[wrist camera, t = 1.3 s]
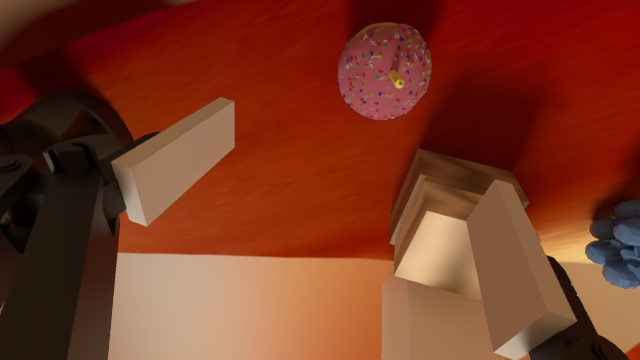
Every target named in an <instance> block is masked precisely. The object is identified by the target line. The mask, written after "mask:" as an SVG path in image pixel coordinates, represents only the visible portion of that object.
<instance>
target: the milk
mask: <svg viewBox="0 0 640 360" xmlns="http://www.w3.org/2000/svg"><path fill="white" fill-rule="evenodd" d="M382 360H505V359H504V356H502V355H499V354H496V353H494V352H493V348H492V343H491V339H490V334H489V329H488V324H487V319H486V315H485V310H484V305H483V302H482V301H478V300H475V299H472V298H468V297H465V296H462V295H458V294H455V293H451V292H448V291H445V290H441V289H438V288H435V287H431V286H428V285H424V284H421V283H418V282H414V281H411V280H407V279H404V278H401V277H397V276H394V264H393V267H392V268H391V270H390V272H389V274H388V276H387V278H386V279H385V281H384V283H383V285H382Z"/></svg>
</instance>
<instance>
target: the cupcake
mask: <svg viewBox="0 0 640 360" xmlns="http://www.w3.org/2000/svg"><path fill="white" fill-rule="evenodd" d="M337 70H338V86H339V88H340V91H341V94H342V96H343V98H344V99H345V101H346V102H347V103H348V106H351V107H352V108H353V109H354V110H355V111H356V112H358V113H359V114H361V115H363V116H366V117H369V118H372V119H375V120H384V119H385V120H387V119H389V118H391V119H394V117H396V116H399V115H402V114H404V113H405V114H407V112H408V111H410V110H411V109H412V108H413V107H414V106H415V104H416V103H417V102H418V100H419V99H420V98H421V97H422V96H423V94H424V93H425V92H426V91H427V88H428V85H429V82H430V77H431V70H432V64H431V57H430V52H429V49H428V46H427V45H426V43H425V41H424V40H423V38H422V37H421V35H420V34H419V32H418V31H417V30H416V29H414V28H413V27H411V26H409V25H407V24H397V23H392V22H384V23H377V24H372V25H369V26H367V27H365V28H364V29H362V30H361V31H360V32H359V33H357V34H356V35H355V36H354V37H353V38H352V39H351V40H350V41H349V42H348V43H347V44H346V46H345V47H344V50H343V52H342V54H341V56H340V60H339V63H338V68H337Z"/></svg>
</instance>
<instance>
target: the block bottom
mask: <svg viewBox="0 0 640 360" xmlns="http://www.w3.org/2000/svg"><path fill="white" fill-rule="evenodd" d="M495 179H497V180H500V181H503V182H507V183H510V184H512V185H513V187H514V189H515V191H516V193H517V195H518V198H519V200H520V202H521V204H522V206H523V208H524V209H525V207H526V206H527V205H528V204H529V200H528V199H527V197H526V195H525V193H524V192H523V190H522V188H521V187H520V185H519V183H518V181H517V180H516V178H515V176H514V174H513V173H512V172H511V171H507V170H503V169H499V168H495V167H491V166H487V165H483V164H479V163H475V162H471V161H467V160H463V159H459V158H455V157H451V156H447V155H443V154H439V153H435V152H431V151H427V150H423V149H419V148H418V150H417V152H416V155H415V157H414V159H413V162H412V164H411V167H410V169H409V171H408V174H407V176H406V179H405V181H404V183H403V186H402V188H401V191H400V193H399V195H398V198H397V200H396V203H395V205H394V207H393V210H392V212H391V220H390V239H389V244H393V245H395V241H396V239H397V237H398V235H399V233H400V231H401V229H402V226H403V224H404V222H405V220H406V218H407V216H408V214H409V211H410V209H411V207H412V205H413V203H414V201H415V199H416V196H417V194H418V192H419V190H420V188H421V186H422V184H423V181H424V180H425V181H429V182H432V183H436V184H440V185H444V186H448V187H452V188H456V189H459V190H463V191H467V192H471V193H475V194H479V195H483V196H484V194H485V193H486V191H487V190H488V188H489V187H490V186H491V184H492V183H493V181H494V180H495Z"/></svg>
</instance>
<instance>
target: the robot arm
mask: <svg viewBox="0 0 640 360" xmlns="http://www.w3.org/2000/svg"><path fill="white" fill-rule="evenodd" d="M233 148H234V101H232V100H228V99H225V98H221V97H220V98H218V99H217V100H215V101H213V102H212V103H210V104H208V105H207V106H205V107H203V108H202V109H200V110H198V111H196V112H195V113H193V114H191V115H190V116H188V117H186V118H185V119H183V120H181V121H179V122H178V123H176V124H174V125H173V126H171V127H169V128H168V129H166V130H164V131H163V132H154V133H151V134H147V135H144V136H142V137H141V138H139V139H137V140H135V142H133V141H132V138H131V136H130V134H129V133H128V131H127V129H126V128H125V126H124V125H123V124H122V122H121V121H120V120H119V119H118V117H117V116H116V115H115V114H114V113H113V112H112V111H111V110H110V109H109V108H108V107H106V106H105V105H104V104H103V103H101V102H100V101H99V100H97V99H96V98H94V97H92V96H90V95H89V94H87V93H84V92H82V91H79V90H76V89H70V88H63V89H58V90H55V91H52V92H49V93H46V94H44V95H42V96H40V97H39V98H38V99H37V100H36V101H34V102H33V103H32V104H30V105H29V106H28V107H27V108H25V109H24V110H23V111H22V112H20V113H19V114H18V115H17V116H16V117H14V118H13V119H12V120H10V121H9V122H6V123H3V124H0V308H1V307H2V305H3V304H4V302H5V304H4V306H3V309H2V311H1V314H0V360H108V350H109V340H110V328H111V317H112V307H113V295H114V285H115V273H116V262H117V251H118V240H119V229H120V219H119V216H118V215H119V214H121V213H122V212H123V211H124V210H127V214H128V217H129V220H131V221H133V222H136V223H139V224H142V225H144V226H148V225H149V224H150V223H151V222H153V221H154V220H155V219H156V218H157V217H158V216H159V215H160V214H161V213H162V212H164V211H165V210H166V209H167V208H168V207H169V206H170V205H171V204H172V203H173V202H175V201H176V200H177V199H178V198H179V197H180V196H181V195H182V194H183V193H184V192H186V191H187V190H188V189H189V188H190V187H191V186H192V185H193V184H194V183H195V182H197V181H198V180H199V179H200V178H201V177H202V176H203V175H204V174H205V173H206V172H208V171H209V170H210V169H211V168H212V167H213V166H214V165H215V164H216V163H217V162H219V161H220V160H221V159H222V158H223V157H224V156H225V155H226V154H227V153H228V152H230V151H231V150H232V149H233ZM466 224H467V228H468V233H469V238H470V243H471V248H472V252H473V257H474V262H475V267H476V271H477V276H478V281H479V286H480V291H481V295H482V300H483V305H484V310H485V315H486V319H487V324H488V329H489V334H490V339H491V343H492V348H493V352H494V353H496V354H499V355H502V356H504V357H507V358H510V359H513V360H519V359H521V358H522V357H524V356H525V355H527V354H528V353H529V356H530V359H531V360H629V359H628V357H627V356H626V355H625V353H623V352H622V351H621V350H620V349H619V348H618V347H617V346H616V345H615V344H613V343H612V342H610V341H609V340H607V339H606V338H604V337H602V336H600V335H598V333H597V332H596V330H595V328H594V326H593V324H592V322H591V320H590V318H589V316H588V314H587V312H586V310H585V309H584V306H583V304H582V302H581V301H580V299H579V297H578V296H577V293H576V291H575V289H574V287H573V286H572V285H571V281H570V279H569V277H568V275H567V274H566V272H565V270H564V269H563V268H562V267H561V265H560V264H559V263H558V262H557V261H556V260H555V259H554V258H553V257H550V256H547V255H546V254H545V252H544V250H543V248H542V246H541V244H540V242H539V240H538V238H537V235H536V233H535V231H534V229H533V227H532V225H531V223H530V221H529V219H528V216H527V214H526V212H525V210H524V208H523V206H522V204H521V202H520V200H519V198H518V195H517V193H516V191H515V189H514V187H513V185H512V184H510V183H507V182H503V181H500V180H497V179H495V180H494V181H493V183H492V184H491V186H490V187H489V188H488V190H487V191H486V193H485V194H484V196H483V197H482V198H481V200H480V201H479V203H478V204H477V205H476V207H475V208H474V210H473V211H472V213H471V214H470V215H469V217H468V218H467V220H466Z"/></svg>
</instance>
